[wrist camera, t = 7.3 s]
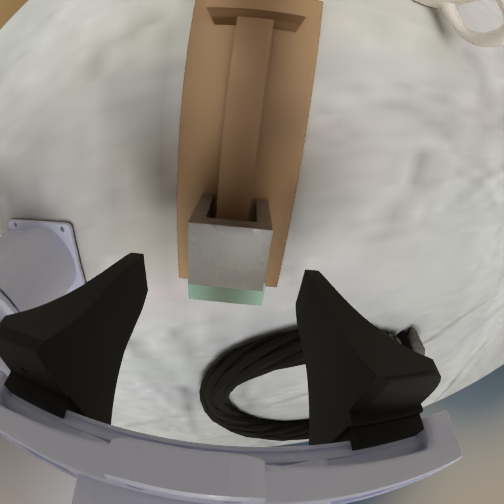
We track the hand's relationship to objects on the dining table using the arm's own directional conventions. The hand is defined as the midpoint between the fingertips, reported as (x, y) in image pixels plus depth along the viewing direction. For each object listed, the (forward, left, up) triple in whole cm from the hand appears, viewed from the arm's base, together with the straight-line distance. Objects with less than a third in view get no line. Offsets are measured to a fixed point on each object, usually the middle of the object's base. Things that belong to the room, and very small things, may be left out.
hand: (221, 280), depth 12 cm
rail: (0, +5, -9) cm, 10 cm away
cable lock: (+12, -23, -9) cm, 28 cm away
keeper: (0, -1, -9) cm, 9 cm away
